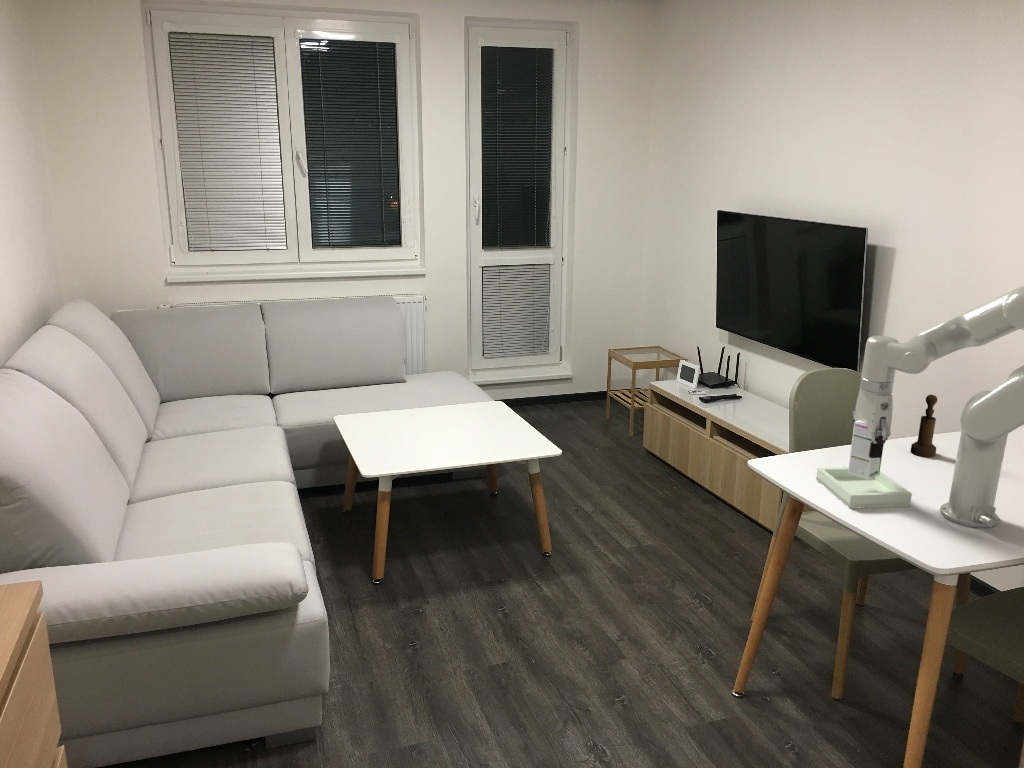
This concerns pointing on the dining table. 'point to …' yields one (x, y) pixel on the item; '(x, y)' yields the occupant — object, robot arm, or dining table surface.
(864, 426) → the syrup box
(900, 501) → the tray
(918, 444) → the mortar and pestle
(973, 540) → the dining table surface
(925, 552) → the dining table surface
